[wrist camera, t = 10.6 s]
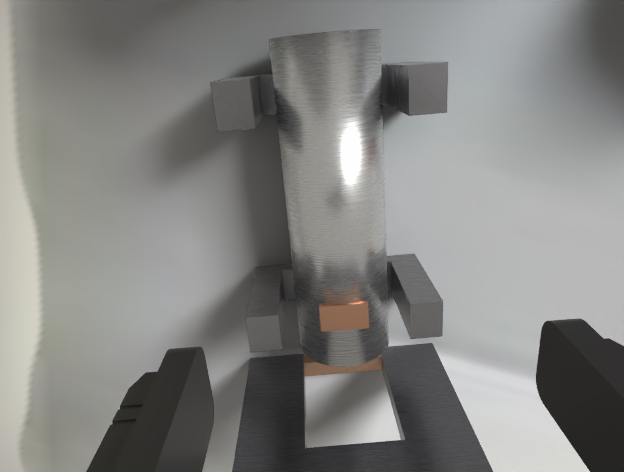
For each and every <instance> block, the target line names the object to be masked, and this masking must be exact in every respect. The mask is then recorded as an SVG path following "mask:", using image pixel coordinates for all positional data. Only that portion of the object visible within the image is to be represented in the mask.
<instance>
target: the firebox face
mask: <svg viewBox="0 0 624 472" xmlns="http://www.w3.org/2000/svg"><path fill="white" fill-rule="evenodd" d="M373 370H382V371H383V375H384V378H385V382H386V386H387V389H388V393H389V397H390V400H391V404H392V408H393V412H394V415H395V419H396V423H397V426H398V430H399V434H400V437H401V440H398V441H386V442H374V443H362V444H350V445H338V446H326V447H314V448H306V401H305V376H314V375H326V374H337V373H349V372H361V371H373ZM232 472H493V470H492V468H491V466H490V464H489V462H488V460H487V458H486V456H485V454H484V451H483V449H482V447H481V445H480V443H479V441H478V439H477V437H476V435H475V432H474V430H473V428H472V426H471V424H470V422H469V420H468V418H467V416H466V413H465V411H464V409H463V407H462V405H461V403H460V401H459V399H458V397H457V394H456V392H455V390H454V388H453V386H452V384H451V382H450V380H449V378H448V375H447V373H446V371H445V369H444V367H443V365H442V363H441V361H440V359H439V356H438V354H437V352H436V350H435V348H434V346H433V344H432V343H429V344H417V345H405V346H394V347H387V348H386V350H385V351H384V352H383V353H382V354H381V355H380V356H379V357H377V358H376V359H374V360H372V361H370V362H367V363H364V364H361V365H356V366H348V367H336V366H328V365H324V364H321V363H318V362H316V361H314V360H312V359H310V358H309V357H308V356H307V355H306V354H298V355H286V356H275V357H263V358H251V359H250V365H249V371H248V377H247V384H246V390H245V396H244V402H243V408H242V415H241V421H240V427H239V433H238V439H237V446H236V452H235V458H234V464H233V471H232Z"/></svg>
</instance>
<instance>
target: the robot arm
mask: <svg viewBox="0 0 624 472" xmlns="http://www.w3.org/2000/svg"><path fill="white" fill-rule="evenodd" d="M536 384H537V389H538V393H539V396H540V398H541V400H542V402H543V404H544V405H545V407H546V408H547V410H548V411H549V413H550V414H551V416H552V417H553V418H554V420H555V421H556V423H557V424H558V426H559V427H560V429H561V430H562V431H563V433H564V434H565V436H566V437H567V439H568V440H569V442H570V443H571V445H572V446H573V447H574V449H575V450H576V452H577V453H578V455H579V456H580V458H581V459H582V461H583V462H584V463H585V465H586V466H587V468H588V469H589V471H590V472H624V346H622V345H620V344H618V343H617V342H615V341H613V340H611V339H609V338H608V339H603V338H602V337H601V336H600V335H599V334H598V333H597V332H596V331H595V330H594V329H593V328H592V327H591V326H590V325H589V324H588V323H587V322H585V321H584V320H582V319H567V320H554V321H546V322H545V323H544V324H543V327H542V331H541V339H540V347H539V355H538V364H537V372H536ZM213 420H214V403H213V396H212V391H211V386H210V381H209V375H208V370H207V365H206V360H205V355H204V351H203V349H202V347H190V348H177V349H169V350H168V351H167V352H166V354H165V357H164V359H163V361H162V363H161V366H160V368H159V370H158V372H148V373H145V374H144V375H143V376H142V377H141V378H140V379H139V380H138V381H137V382H135V383H134V384H133V385H132V386H131V387H130V388H129V390H128V392H127V394H126V396H125V398H124V399H123V401H122V403H121V405H120V410H118V411H117V413H116V415H115V417H114V419H113V424H112V425H110V427H109V429H108V431H107V433H106V435H105V437H104V438H103V440H102V442H101V444H100V446H99V448H98V450H97V452H96V454H95V456H94V458H93V460H92V462H91V464H90V466H89V468H88V470H87V472H202V469H203V465H204V461H205V457H206V452H207V448H208V444H209V440H210V436H211V431H212V427H213Z"/></svg>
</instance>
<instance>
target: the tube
mask: <svg viewBox="0 0 624 472" xmlns="http://www.w3.org/2000/svg"><path fill="white" fill-rule="evenodd" d="M269 47H270V57H271V66H272V76H273V85H274V95H275V104H276V114H277V123H278V133H279V143H280V152H281V162H282V171H283V181H284V190H285V200H286V209H287V219H288V228H289V238H290V247H291V257H292V266H293V276H294V285H295V295H296V305H297V314H298V324H299V333H300V343H301V348H302V350H303V352H304V353H305V354H306V355H307V356H308V357H309V358H310V359H312V360H314V361H316V362H318V363H321V364H324V365H328V366H336V367H348V366H356V365H361V364H364V363H367V362H370V361H372V360H374V359H376V358H377V357H379V356H380V355H381V354H382V353H383V352H384V351H385V350H386V348H387V346H388V343H389V329H388V292H387V256H386V219H385V182H384V145H383V108H382V71H381V34H380V30H379V29H367V30H348V31H335V32H323V33H312V34H303V35H294V36H286V37H279V38H273V39H269Z"/></svg>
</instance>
